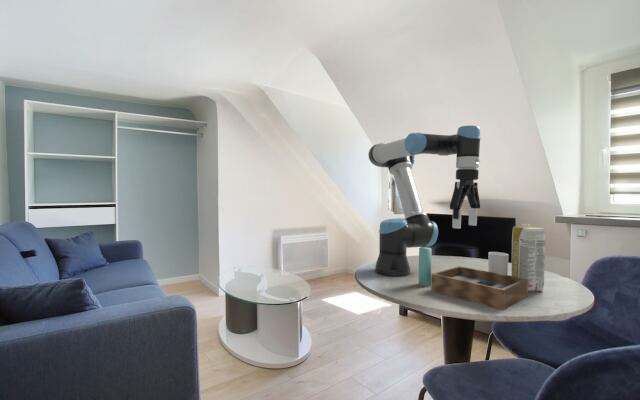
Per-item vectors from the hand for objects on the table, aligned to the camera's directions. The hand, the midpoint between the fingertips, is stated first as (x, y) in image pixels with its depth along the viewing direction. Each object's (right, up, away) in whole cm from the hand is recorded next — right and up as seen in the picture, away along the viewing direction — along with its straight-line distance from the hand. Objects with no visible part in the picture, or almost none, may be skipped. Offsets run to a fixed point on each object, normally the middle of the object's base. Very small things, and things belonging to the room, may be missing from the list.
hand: (464, 226), depth 117 cm
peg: (-13, -23, +4) cm, 27 cm away
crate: (+2, -23, -6) cm, 24 cm away
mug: (+15, -23, +7) cm, 28 cm away
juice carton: (+23, -23, 0) cm, 33 cm away
